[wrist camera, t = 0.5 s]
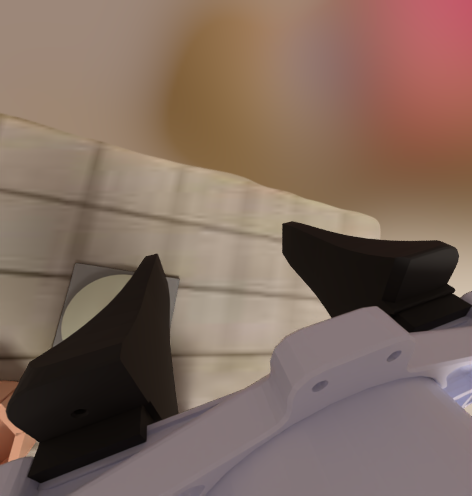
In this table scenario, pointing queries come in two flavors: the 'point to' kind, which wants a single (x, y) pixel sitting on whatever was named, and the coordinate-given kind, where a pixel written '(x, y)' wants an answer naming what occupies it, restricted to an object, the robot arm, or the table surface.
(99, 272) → the mat
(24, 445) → the bowl
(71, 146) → the table surface
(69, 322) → the lid
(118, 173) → the table surface
